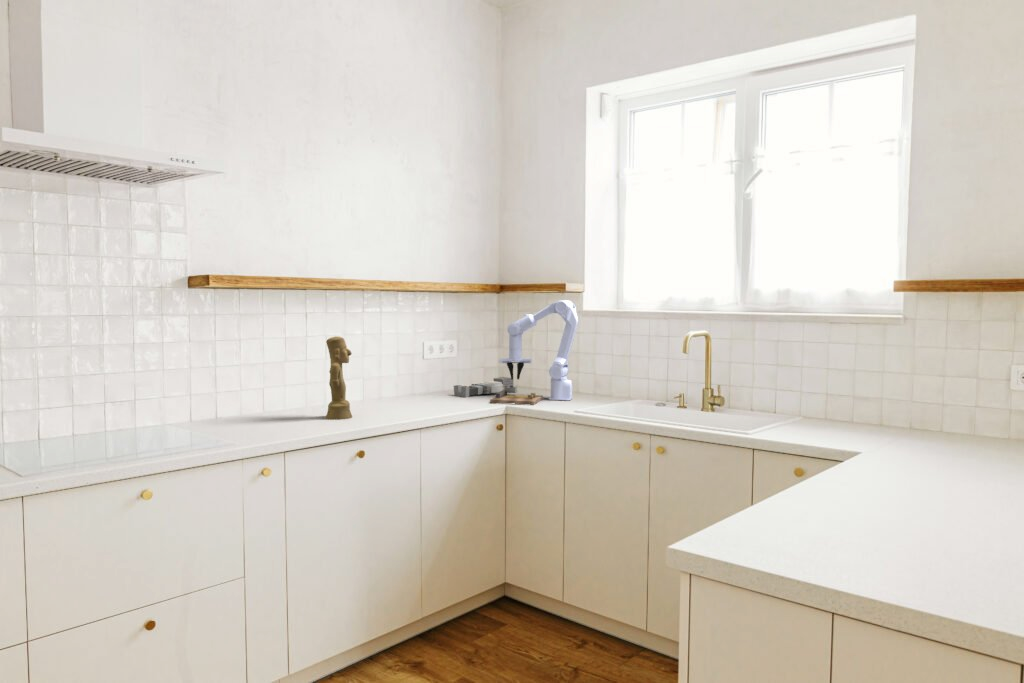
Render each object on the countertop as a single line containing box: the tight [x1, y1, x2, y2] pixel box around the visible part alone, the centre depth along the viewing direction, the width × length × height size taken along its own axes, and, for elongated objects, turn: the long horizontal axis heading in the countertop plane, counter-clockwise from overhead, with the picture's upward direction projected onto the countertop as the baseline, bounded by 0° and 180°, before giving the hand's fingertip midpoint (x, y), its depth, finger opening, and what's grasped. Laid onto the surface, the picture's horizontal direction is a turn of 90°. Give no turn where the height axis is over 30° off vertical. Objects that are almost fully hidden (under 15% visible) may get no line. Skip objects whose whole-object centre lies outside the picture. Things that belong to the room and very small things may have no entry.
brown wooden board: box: [489, 390, 544, 406], centre depth 322 cm, size 19×20×3 cm
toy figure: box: [453, 376, 514, 398], centre depth 346 cm, size 11×7×30 cm
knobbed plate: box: [506, 384, 518, 394], centre depth 329 cm, size 4×4×3 cm
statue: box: [325, 336, 353, 420], centre depth 273 cm, size 11×10×30 cm
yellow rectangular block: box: [506, 394, 528, 398], centre depth 322 cm, size 11×3×1 cm, turn 77°
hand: (515, 379), depth 336 cm, fingers open, 2 cm apart
